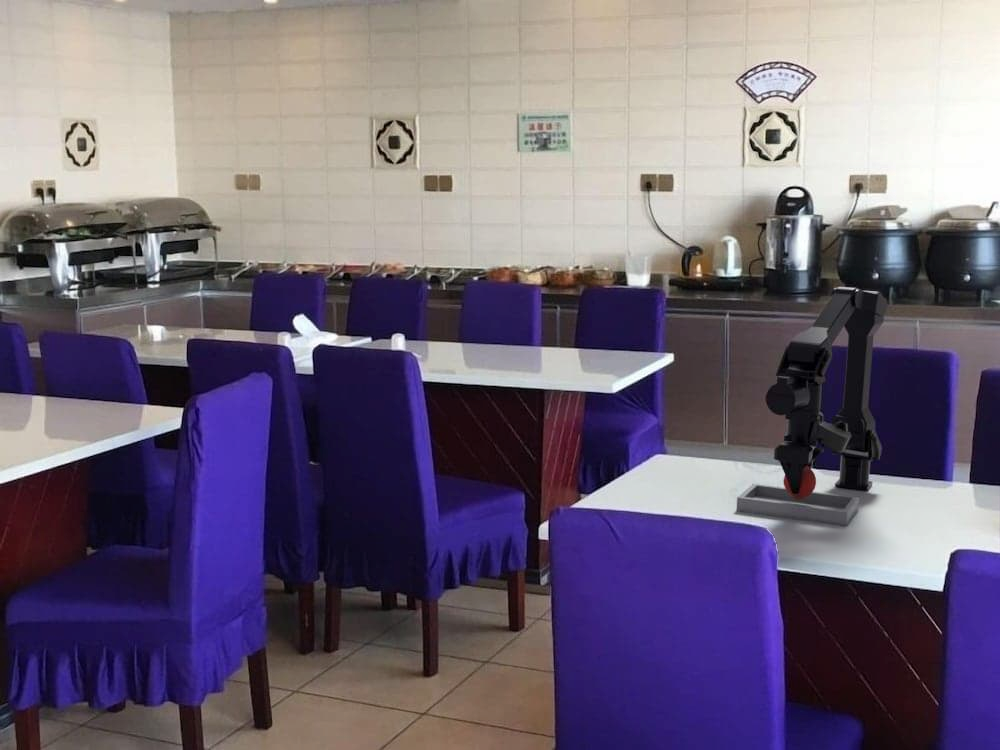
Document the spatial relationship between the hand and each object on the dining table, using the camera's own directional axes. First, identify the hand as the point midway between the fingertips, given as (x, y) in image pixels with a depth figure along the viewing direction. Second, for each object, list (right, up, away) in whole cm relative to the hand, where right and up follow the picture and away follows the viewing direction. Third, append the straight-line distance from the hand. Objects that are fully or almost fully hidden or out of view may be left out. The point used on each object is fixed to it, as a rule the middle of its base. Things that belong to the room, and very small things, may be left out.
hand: (799, 490), depth 225 cm
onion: (0, -2, 0) cm, 2 cm away
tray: (0, -4, +1) cm, 4 cm away
